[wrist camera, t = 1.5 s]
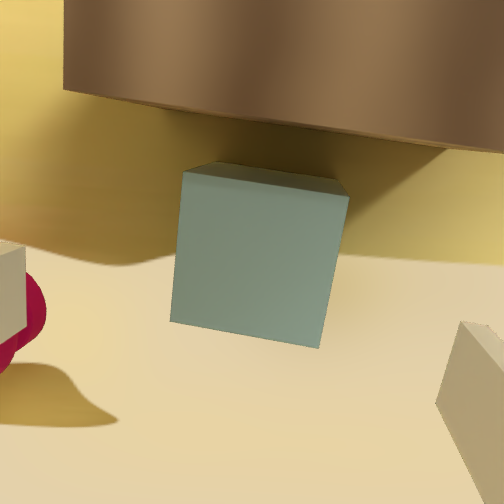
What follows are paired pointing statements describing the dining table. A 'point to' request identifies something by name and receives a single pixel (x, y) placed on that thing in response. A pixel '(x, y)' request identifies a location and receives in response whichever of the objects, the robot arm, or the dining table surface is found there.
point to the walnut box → (302, 63)
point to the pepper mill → (35, 321)
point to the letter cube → (257, 251)
